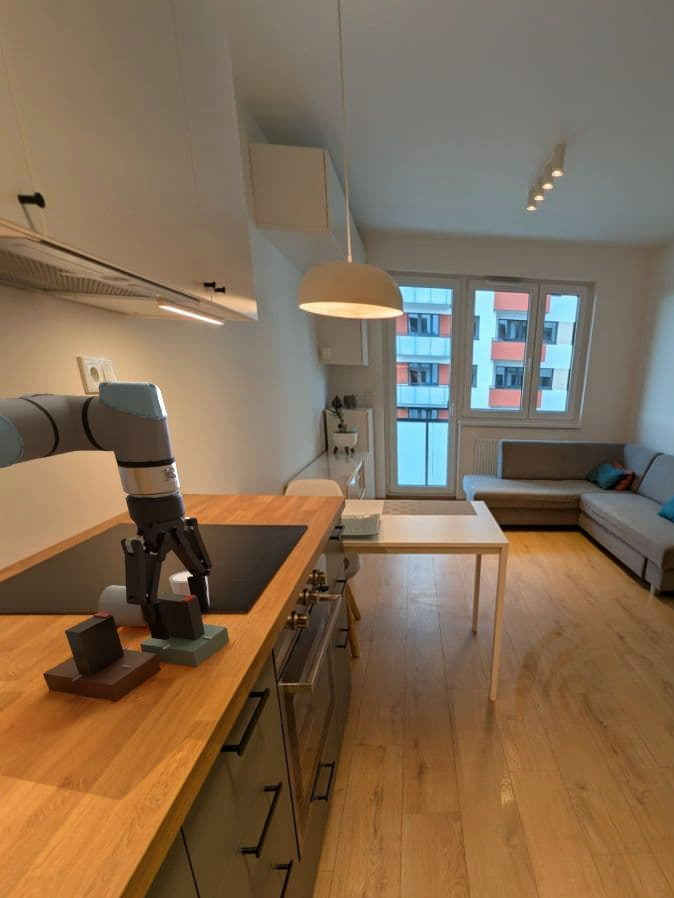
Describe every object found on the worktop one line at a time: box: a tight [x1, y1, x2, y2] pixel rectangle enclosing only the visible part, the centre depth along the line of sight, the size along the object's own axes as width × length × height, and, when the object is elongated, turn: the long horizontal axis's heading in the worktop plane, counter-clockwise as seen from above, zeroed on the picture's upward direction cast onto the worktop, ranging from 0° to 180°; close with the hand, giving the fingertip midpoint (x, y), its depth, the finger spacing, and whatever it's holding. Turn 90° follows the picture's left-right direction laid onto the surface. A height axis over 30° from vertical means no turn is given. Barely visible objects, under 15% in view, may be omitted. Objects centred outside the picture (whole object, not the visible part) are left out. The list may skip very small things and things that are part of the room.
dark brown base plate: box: [42, 645, 162, 702], centre depth 79 cm, size 12×10×3 cm
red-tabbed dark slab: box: [64, 611, 124, 674], centre depth 77 cm, size 6×2×7 cm, turn 167°
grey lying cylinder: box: [97, 584, 161, 628], centre depth 96 cm, size 11×8×8 cm
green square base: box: [139, 620, 230, 668], centre depth 87 cm, size 10×10×3 cm
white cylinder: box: [168, 570, 211, 606], centre depth 102 cm, size 7×7×7 cm
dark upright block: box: [156, 592, 205, 640], centre depth 85 cm, size 6×2×7 cm, turn 78°
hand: (182, 624), depth 86 cm, fingers open, 9 cm apart
